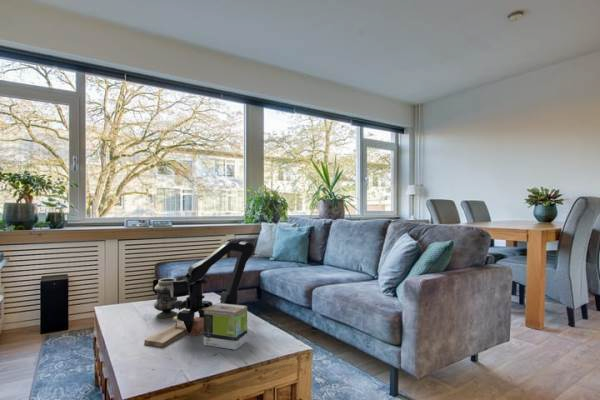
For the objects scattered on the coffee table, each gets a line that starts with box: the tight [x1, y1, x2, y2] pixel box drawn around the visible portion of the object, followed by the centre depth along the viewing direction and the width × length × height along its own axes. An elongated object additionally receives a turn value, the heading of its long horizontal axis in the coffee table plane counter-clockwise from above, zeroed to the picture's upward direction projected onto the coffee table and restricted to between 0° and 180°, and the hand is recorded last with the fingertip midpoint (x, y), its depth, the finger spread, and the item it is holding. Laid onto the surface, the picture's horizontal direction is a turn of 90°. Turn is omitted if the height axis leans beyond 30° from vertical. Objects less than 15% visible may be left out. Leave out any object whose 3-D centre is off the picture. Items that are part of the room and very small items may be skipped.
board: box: [143, 321, 187, 348], centre depth 144 cm, size 9×21×2 cm, turn 163°
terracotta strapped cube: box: [172, 316, 204, 336], centre depth 149 cm, size 14×5×6 cm, turn 74°
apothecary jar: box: [153, 277, 180, 319], centre depth 170 cm, size 12×12×18 cm
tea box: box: [203, 302, 248, 350], centre depth 137 cm, size 15×10×15 cm
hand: (195, 329), depth 148 cm, fingers open, 9 cm apart
